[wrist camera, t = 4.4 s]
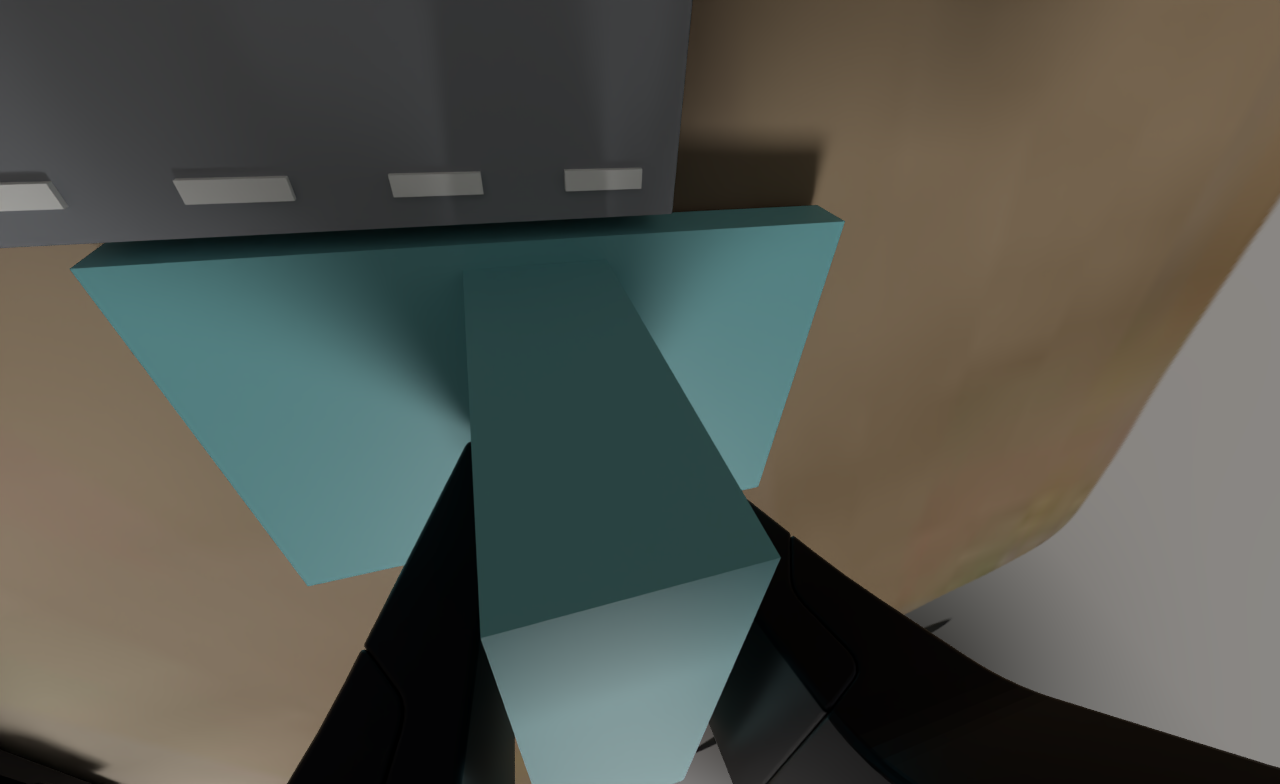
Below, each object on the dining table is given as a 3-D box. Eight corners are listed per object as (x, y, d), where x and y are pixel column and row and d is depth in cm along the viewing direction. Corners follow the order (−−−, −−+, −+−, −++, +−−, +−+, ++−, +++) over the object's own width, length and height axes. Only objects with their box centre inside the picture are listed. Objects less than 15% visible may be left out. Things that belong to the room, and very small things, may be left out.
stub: (316, 551, 10) (218, 964, 6) (108, 240, 6) (-840, 939, 2) (743, 463, 13) (892, 703, 8) (817, 205, 8) (1196, 426, 4)
